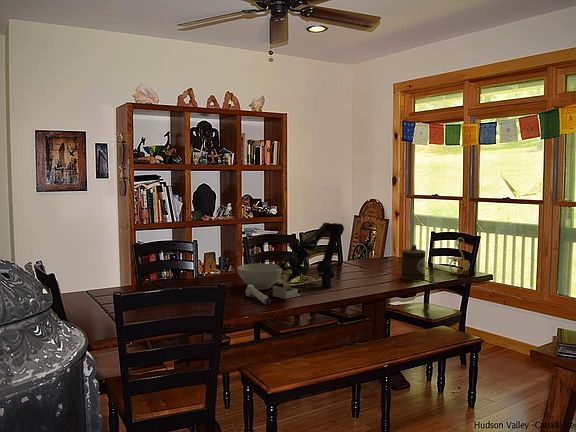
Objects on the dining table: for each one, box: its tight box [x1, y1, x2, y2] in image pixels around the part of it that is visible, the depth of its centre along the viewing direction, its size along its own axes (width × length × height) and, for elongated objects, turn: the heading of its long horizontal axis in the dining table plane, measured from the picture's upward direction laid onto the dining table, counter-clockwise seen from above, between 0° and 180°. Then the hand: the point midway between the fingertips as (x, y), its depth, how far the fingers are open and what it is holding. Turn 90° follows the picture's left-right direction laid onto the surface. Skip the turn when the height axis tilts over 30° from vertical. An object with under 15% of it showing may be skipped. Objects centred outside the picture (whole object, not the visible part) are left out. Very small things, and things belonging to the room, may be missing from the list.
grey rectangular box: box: [272, 285, 302, 300], centre depth 281 cm, size 12×10×6 cm
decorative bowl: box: [237, 263, 283, 291], centre depth 301 cm, size 27×27×12 cm
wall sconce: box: [447, 237, 471, 275], centre depth 340 cm, size 14×10×25 cm
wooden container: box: [401, 244, 427, 281], centre depth 326 cm, size 15×15×22 cm
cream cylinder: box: [282, 270, 292, 291], centre depth 280 cm, size 4×4×12 cm
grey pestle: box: [245, 285, 272, 306], centre depth 272 cm, size 5×7×25 cm
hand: (285, 280), depth 279 cm, fingers closed on cream cylinder, 4 cm apart
